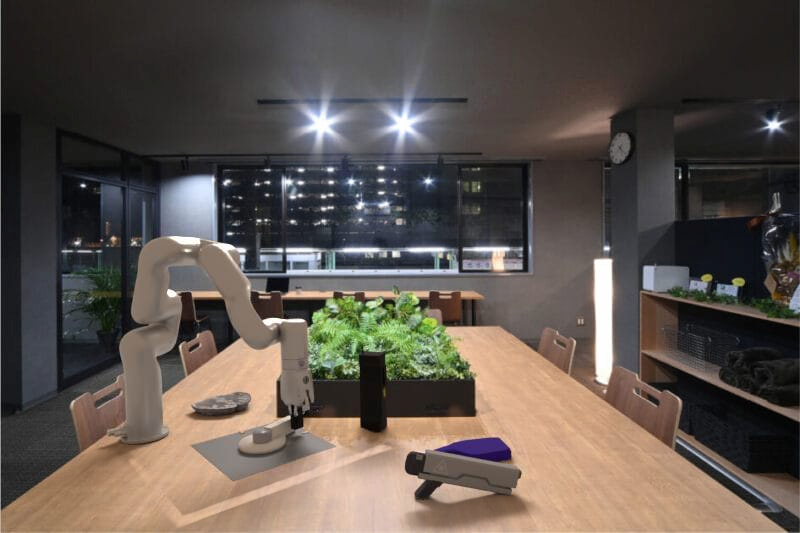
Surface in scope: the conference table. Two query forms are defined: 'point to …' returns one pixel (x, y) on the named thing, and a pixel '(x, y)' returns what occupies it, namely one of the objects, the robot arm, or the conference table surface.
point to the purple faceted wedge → (479, 449)
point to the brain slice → (222, 403)
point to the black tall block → (373, 391)
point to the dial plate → (242, 465)
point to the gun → (460, 472)
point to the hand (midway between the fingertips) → (297, 428)
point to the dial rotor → (267, 438)
